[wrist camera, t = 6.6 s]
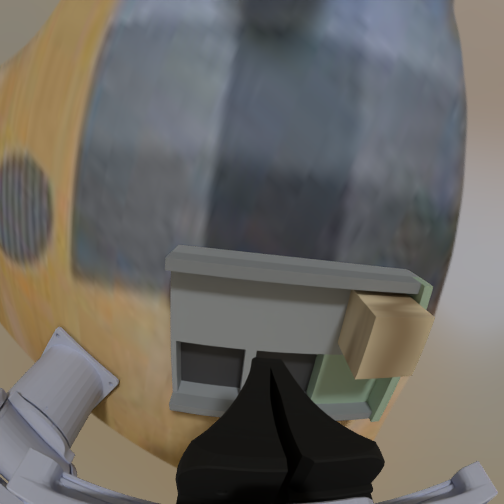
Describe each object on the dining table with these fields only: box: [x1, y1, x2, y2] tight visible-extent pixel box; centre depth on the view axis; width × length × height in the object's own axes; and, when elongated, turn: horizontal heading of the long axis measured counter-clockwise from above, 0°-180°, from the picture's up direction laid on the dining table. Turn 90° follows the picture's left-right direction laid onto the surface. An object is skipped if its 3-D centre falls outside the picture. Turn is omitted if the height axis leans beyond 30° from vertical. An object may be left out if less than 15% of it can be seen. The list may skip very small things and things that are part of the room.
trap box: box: [165, 245, 433, 422], centre depth 20 cm, size 18×13×4 cm
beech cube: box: [338, 289, 435, 379], centre depth 18 cm, size 4×4×4 cm
